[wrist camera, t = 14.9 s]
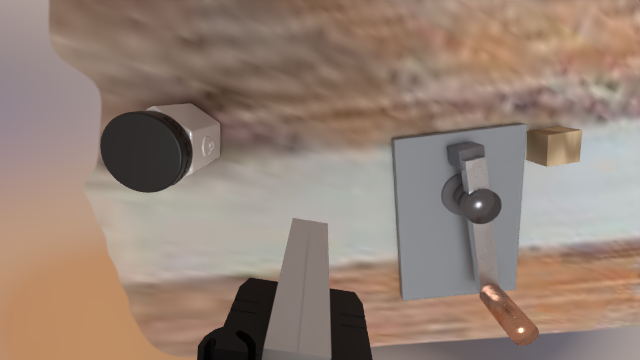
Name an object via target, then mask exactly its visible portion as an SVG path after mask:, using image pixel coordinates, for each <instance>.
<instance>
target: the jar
mask: <svg viewBox="0 0 640 360" xmlns="http://www.w3.org/2000/svg"><path fill="white" fill-rule="evenodd" d="M100 147H101V155H102V158H103V161H104V164H105V166H106V167H107V169H108V171H109V172H110V173H111V175H112V176H113V177H114V178H115V179H116V180H117V181H119V182H120V183H121V184H123V185H124V186H126V187H128V188H130V189H132V190H135V191H139V192H147V193H150V192H158V191H161V190H164V189H166V188H168V187H169V186H171V185H174V184H176V183H177V182H178V181H180V180H181V179H182V178H184V177H186V176H188V175H190V174H192V173H194V172H196V171H197V170H199V169H200V168H202V167H204V166H205V165H207V164H208V163H210V162H212V161H213V160H215V159H217V158H218V157H220V123H219V122H218V121H216V120H215V119H213V118H212V117H210V116H209V115H208V114H206V113H205V112H203V111H202V110H200V109H199V108H197V107H196V106H194V105H193V104H191V103H188V104H175V105H162V106H152V107H150V108H148V109H146V110H144V111H136V112H128V113H124V114H121V115H119V116H117V117H115V118H114V119H113V120H111V121H110V122H109V123H108V125H107V126H106V127H105V129H104V131H103V134H102V137H101V144H100Z"/></svg>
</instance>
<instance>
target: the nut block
mask: <svg viewBox="0 0 640 360" xmlns="http://www.w3.org/2000/svg"><path fill="white" fill-rule="evenodd" d="M581 137H582V130H579V129H572V128H565V127H551V128H545V129H538V130H532V131H527V155H526V160H528V161H531V162H534V163H537V164H540V165H543V166H546V167H547V166H554V165H561V164H568V163H574V162H579V161H580V149H581Z"/></svg>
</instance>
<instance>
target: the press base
mask: <svg viewBox="0 0 640 360" xmlns="http://www.w3.org/2000/svg"><path fill="white" fill-rule="evenodd" d="M526 128H527V124H522V123H517V124H508V125H500V126H492V127H483V128H475V129H467V130H458V131H450V132H442V133H433V134H425V135H417V136H409V137H400V138H392V149H393V167H394V185H395V203H396V221H397V238H398V256H399V274H400V292H401V297H402V299H403V301H405V300H415V299H425V298H436V297H446V296H456V295H466V294H476V293H479V292H478V290H477V289H476V282H475V274H474V267H473V259H472V251H471V243H470V235H469V227H468V220H467V218H466V217H465V216H464V215H463V214H462V213H461V212H460V211H459V209H458V198H459V196H460V194H461V193H462V192H463V191H464V188H463V180H462V173H461V170H459V169H458V168H456V167H454V166H452V165H450V159H449V152H448V147H449V146H453V145H457V144H461V143H466V142H470V141H472V142H475V143H478V144H482V145H484V149H485V157H486V161H487V171H488V180H489V190H491V191H493V192H495V193H496V194H497V195H498V196H499V197H500V199H501V203H502V206H501V211H500V213H499V214H498V216H497V217H496V218H495V219H494V220H493V229H494V239H495V248H496V258H497V268H498V278H499V287H500V288H501V289H502V290H503V291H507V290H515V288H516V274H517V259H518V245H519V230H520V215H521V201H522V186H523V171H524V157H525V142H526Z"/></svg>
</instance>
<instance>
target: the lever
mask: <svg viewBox="0 0 640 360" xmlns="http://www.w3.org/2000/svg"><path fill="white" fill-rule="evenodd" d="M448 152H449V159H450V165H452V166H454V167H456V168H458V169H459V170H461V173H462V180H463V188H464V191H463V192H462V193H461V194H460V196H459V198H458V209H459V211H460V212H461V213H462V214H463V215H464V216H465V217H466V218H467V220H468V227H469V235H470V243H471V251H472V259H473V267H474V274H475V282H476V289H477V290H478V292H479V293H480V299H481V300H482V302H483V303H484V304H485V306H486V307H487V308H488V310H489V311H490V312H491V313H492V315H493V316H494V317H495V319H496V320H497V321H498V323H499V324H500V325H501V326H502V328H503V329H504V330H505V332H506V333H507V334H508V336H509V337H510V338H511V339H512V341H513V342H514V343H515V344H518V345H527V344H530V343H532V342H534V341H535V340H536V338H537V337H538V334H539V331H538V328H537V327H536V326H535V325H534V324H533V322H532V321H531V320H530V319H529V318H528V317H527V316H526V315H525V314H524V313H523V312H522V310H521V309H520V308H519V307H518V306H517V305H516V304H515V303H514V302H513V301H512V300H511V299H510V297H509V296H508V295H507V294H506V293H505V292H504V291H503V290H502V289H501V288H500V287H499V278H498V268H497V258H496V248H495V239H494V229H493V220H494V219H495V218H496V217H497V216H498V214H499V213H500V211H501V206H502V203H501V199H500V197H499V196H498V195H497V194H496V193H495V192H493V191H491V190H489V180H488V171H487V161H486V157H485V149H484V145H482V144H478V143H475V142H472V141H470V142H466V143H461V144H457V145H453V146H449V147H448Z"/></svg>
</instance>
